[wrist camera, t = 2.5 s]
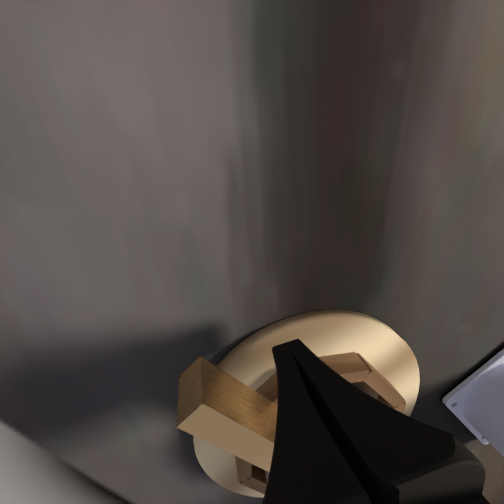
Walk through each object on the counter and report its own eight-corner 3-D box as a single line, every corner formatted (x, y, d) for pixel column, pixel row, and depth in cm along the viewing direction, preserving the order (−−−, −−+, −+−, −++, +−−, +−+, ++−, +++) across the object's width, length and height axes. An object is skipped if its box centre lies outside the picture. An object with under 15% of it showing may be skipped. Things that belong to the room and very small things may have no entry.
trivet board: (442, 384, 22) (472, 412, 19) (295, 504, 23) (306, 543, 21) (327, 259, 15) (351, 279, 13) (139, 436, 17) (131, 480, 15)
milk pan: (389, 409, 19) (447, 485, 15) (307, 477, 20) (339, 568, 16) (245, 287, 14) (270, 354, 9) (138, 390, 14) (114, 496, 10)
